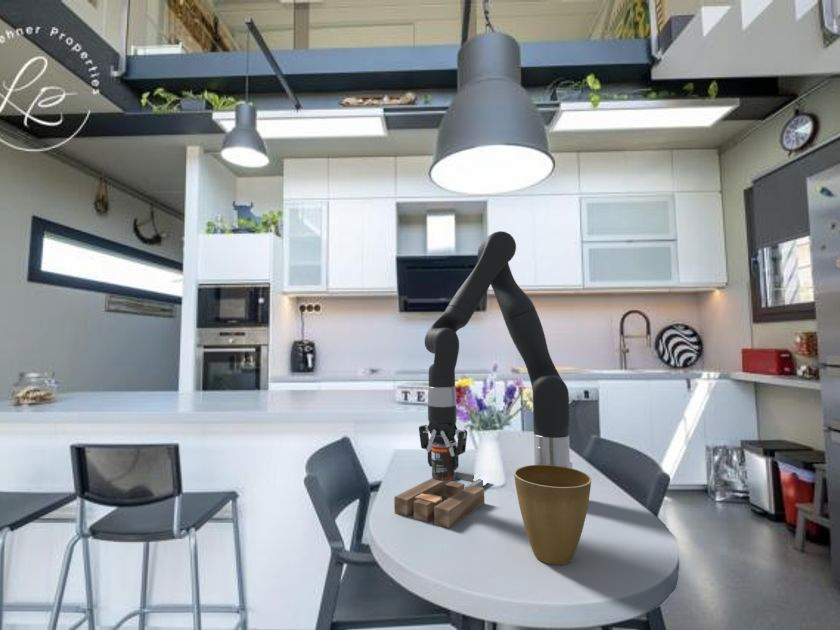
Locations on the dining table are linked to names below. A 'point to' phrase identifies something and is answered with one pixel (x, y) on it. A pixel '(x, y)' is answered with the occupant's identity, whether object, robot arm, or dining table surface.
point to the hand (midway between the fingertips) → (442, 467)
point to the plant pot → (553, 509)
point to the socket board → (439, 502)
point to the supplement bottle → (441, 460)
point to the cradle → (466, 478)
